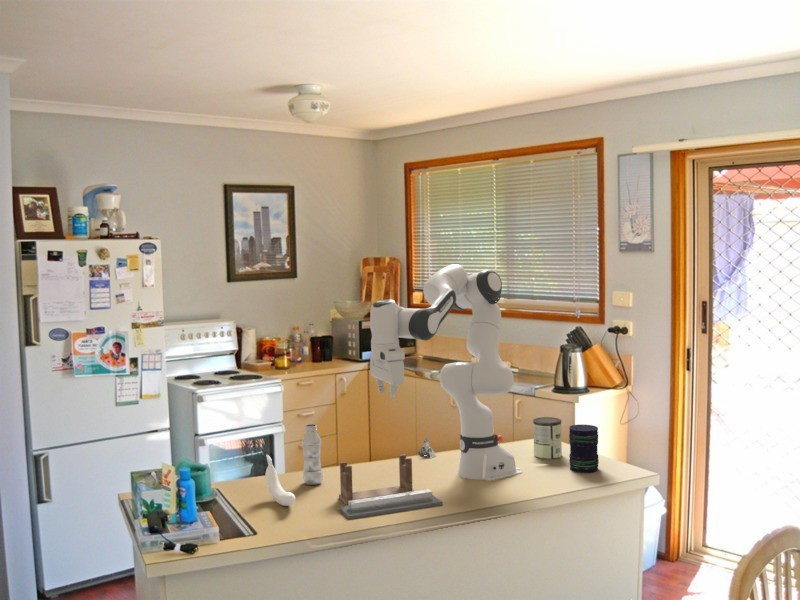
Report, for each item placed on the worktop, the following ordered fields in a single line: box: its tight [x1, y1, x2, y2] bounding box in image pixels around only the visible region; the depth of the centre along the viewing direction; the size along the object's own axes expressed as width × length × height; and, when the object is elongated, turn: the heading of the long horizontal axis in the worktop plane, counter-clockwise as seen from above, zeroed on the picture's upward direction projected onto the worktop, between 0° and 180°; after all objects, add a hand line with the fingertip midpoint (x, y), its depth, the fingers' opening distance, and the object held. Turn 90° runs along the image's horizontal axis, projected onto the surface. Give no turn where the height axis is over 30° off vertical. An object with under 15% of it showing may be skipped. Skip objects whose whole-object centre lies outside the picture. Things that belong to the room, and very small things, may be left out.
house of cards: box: [416, 437, 437, 459], centre depth 298 cm, size 9×9×8 cm
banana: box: [265, 454, 296, 507], centre depth 244 cm, size 5×19×15 cm, turn 35°
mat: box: [338, 494, 444, 520], centre depth 239 cm, size 30×9×1 cm, turn 112°
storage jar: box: [568, 424, 599, 474], centre depth 275 cm, size 10×10×15 cm
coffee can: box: [532, 416, 563, 461], centre depth 292 cm, size 10×10×14 cm
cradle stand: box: [338, 454, 415, 505], centre depth 251 cm, size 23×7×12 cm, turn 112°
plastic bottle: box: [301, 423, 324, 486], centre depth 265 cm, size 6×7×20 cm
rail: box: [347, 488, 433, 512], centre depth 239 cm, size 26×3×2 cm, turn 112°
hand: (387, 394), depth 251 cm, fingers open, 8 cm apart
